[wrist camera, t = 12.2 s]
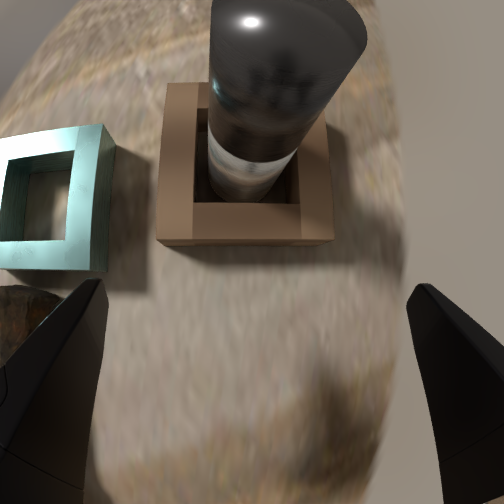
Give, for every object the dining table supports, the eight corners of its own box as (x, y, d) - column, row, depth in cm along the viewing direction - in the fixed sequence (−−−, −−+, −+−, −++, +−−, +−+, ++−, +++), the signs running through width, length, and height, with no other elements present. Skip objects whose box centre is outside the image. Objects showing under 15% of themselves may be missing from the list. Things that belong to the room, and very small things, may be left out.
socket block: (107, 271, 17) (89, 269, 14) (5, 269, 16) (-21, 267, 13) (116, 144, 18) (102, 123, 15) (17, 156, 17) (-4, 140, 14)
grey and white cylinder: (260, 215, 19) (351, 98, 6) (197, 190, 19) (181, 35, 6) (282, 157, 19) (375, 8, 7) (223, 134, 19) (247, -40, 6)
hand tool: (18, 280, 17) (-24, 280, 12) (66, 291, 17) (28, 293, 13) (37, 501, 15) (16, 530, 10) (79, 517, 15) (62, 550, 11)
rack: (316, 245, 19) (334, 239, 16) (164, 245, 18) (155, 239, 15) (307, 113, 20) (321, 90, 17) (172, 108, 19) (167, 83, 16)
